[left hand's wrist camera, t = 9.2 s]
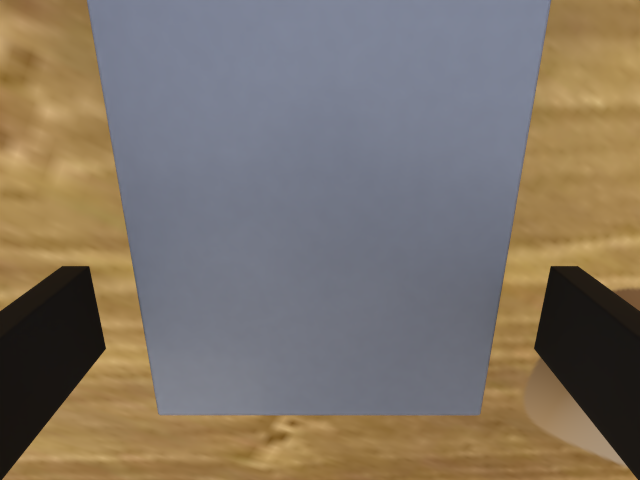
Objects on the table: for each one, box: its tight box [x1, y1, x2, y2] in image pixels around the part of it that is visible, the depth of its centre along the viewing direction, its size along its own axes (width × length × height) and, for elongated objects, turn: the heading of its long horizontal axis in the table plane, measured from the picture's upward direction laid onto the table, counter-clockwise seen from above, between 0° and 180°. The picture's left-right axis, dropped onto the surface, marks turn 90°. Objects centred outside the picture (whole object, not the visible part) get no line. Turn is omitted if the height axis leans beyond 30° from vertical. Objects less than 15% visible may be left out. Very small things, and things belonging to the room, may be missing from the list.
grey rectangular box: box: [87, 0, 551, 415], centre depth 15 cm, size 21×10×10 cm, turn 0°
